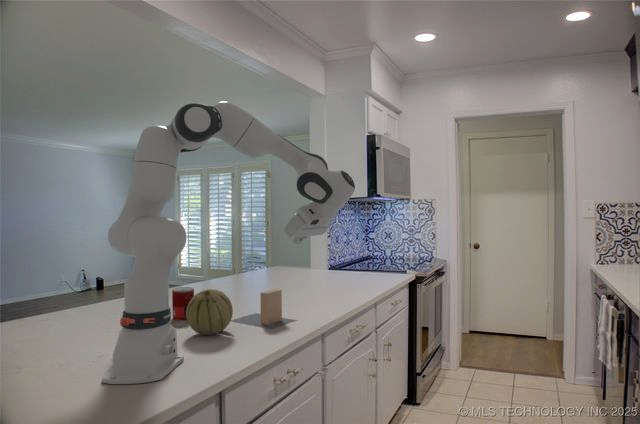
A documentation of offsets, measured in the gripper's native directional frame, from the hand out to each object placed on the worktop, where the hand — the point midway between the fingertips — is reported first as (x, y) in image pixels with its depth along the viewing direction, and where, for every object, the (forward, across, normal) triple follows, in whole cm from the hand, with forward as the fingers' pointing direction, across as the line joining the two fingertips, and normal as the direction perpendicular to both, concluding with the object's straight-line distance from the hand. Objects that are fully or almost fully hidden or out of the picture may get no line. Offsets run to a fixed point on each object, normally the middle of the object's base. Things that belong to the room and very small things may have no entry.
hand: (296, 242), depth 152 cm
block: (+28, 0, +12) cm, 31 cm away
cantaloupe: (+35, +21, +7) cm, 41 cm away
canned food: (+53, +11, -11) cm, 55 cm away
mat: (+32, 0, +10) cm, 33 cm away
